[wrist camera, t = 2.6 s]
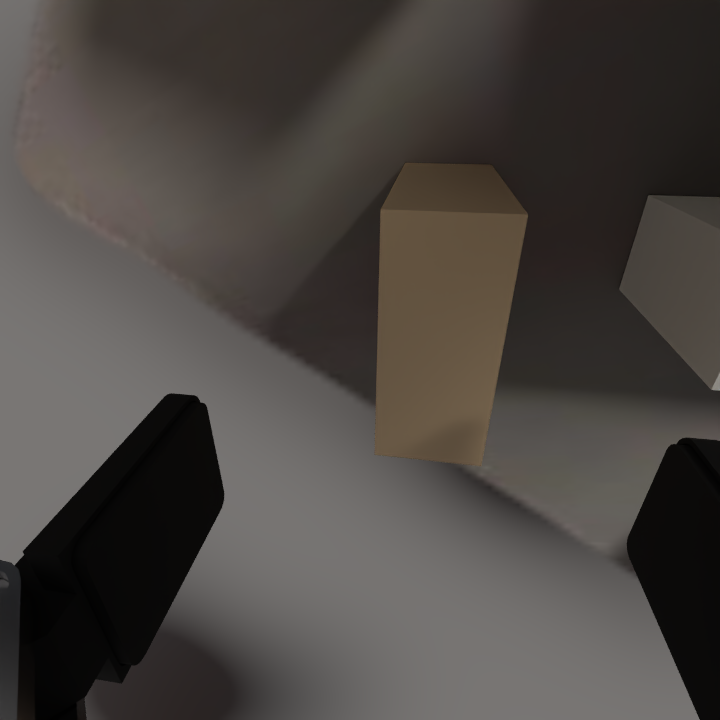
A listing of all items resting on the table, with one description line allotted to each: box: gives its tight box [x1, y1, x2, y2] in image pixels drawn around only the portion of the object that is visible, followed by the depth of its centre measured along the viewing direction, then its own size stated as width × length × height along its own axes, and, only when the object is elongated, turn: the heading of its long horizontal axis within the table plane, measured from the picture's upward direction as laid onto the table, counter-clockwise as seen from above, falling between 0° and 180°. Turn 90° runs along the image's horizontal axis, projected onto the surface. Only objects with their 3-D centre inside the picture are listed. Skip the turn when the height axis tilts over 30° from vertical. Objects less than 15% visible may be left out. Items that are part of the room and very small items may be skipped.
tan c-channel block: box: [375, 163, 528, 466], centre depth 17 cm, size 8×4×9 cm, turn 0°
